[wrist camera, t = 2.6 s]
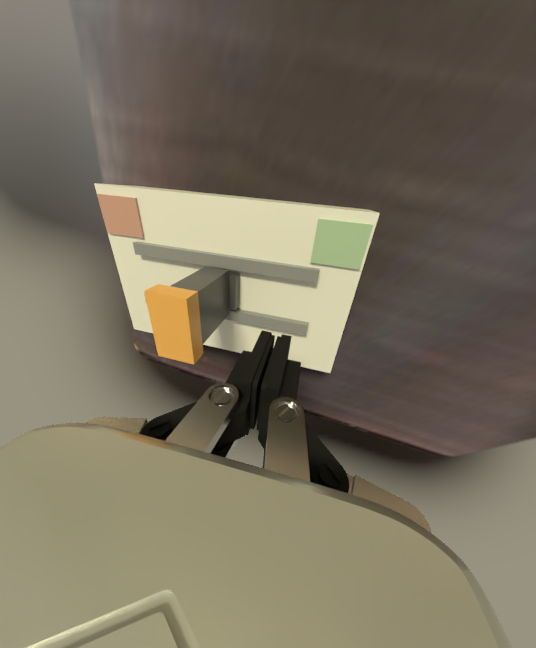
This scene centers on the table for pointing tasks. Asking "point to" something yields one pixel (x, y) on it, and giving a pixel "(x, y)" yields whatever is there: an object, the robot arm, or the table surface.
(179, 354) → the handle
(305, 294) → the switch box
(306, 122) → the table surface
